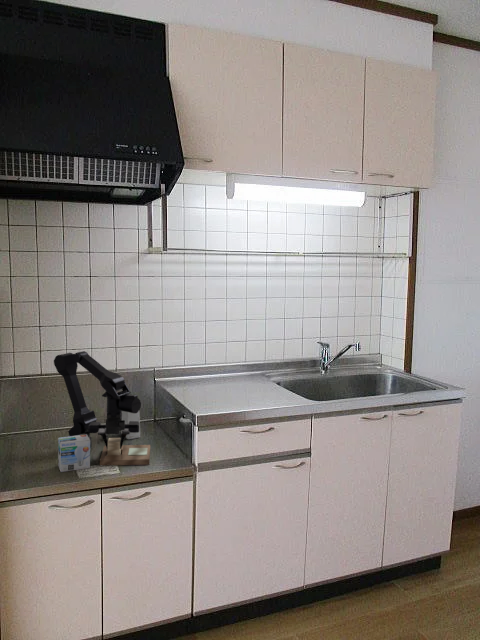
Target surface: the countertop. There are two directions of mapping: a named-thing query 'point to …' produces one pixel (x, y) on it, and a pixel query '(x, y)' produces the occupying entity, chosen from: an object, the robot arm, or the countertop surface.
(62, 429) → the countertop surface
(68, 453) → the light bulb box
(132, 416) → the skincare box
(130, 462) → the pocket board
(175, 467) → the countertop surface
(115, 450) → the maple block
